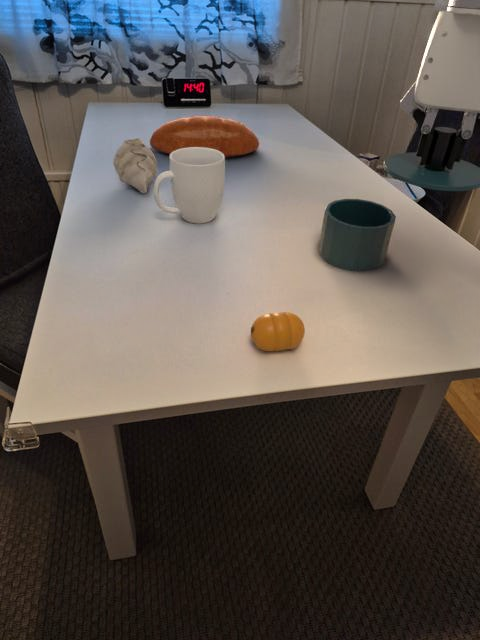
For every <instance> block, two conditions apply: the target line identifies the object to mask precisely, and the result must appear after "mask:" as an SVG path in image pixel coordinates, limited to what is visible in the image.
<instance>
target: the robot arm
mask: <svg viewBox="0 0 480 640" xmlns="http://www.w3.org/2000/svg"><path fill="white" fill-rule="evenodd" d="M398 105H399V108H400V109H402V111H404V112H406V114H408V115H409V116H411V117H412V118H413V119H414V121H415V122H416V124H417V126H418V127H419V129H420V131H421V135H420V139H419V142H418V146H417V150H416V152H415V153H416V156H418V157H420V164H419V165H422V166H423V165H425V163H426V160H427V157H428V153H429V150H430V146H431V143H432V139H433V133H434V129H435V127H434V123H435V120H436V118H437V115H438V112H439V110H447V111H455V112H464V114H463V118H462V122H461V127H460V128H459V129H458V130H457V134H456V137H455V140H454V143H453V146H452V149H451V152H450V156H449V159H448V162H447V165H446V168H448V169H450V170H452V168H453V165H454V162H460V160H462V156H463V153H464V150H465V147H466V144H467V141H468V139H470V138H471V137H472V136H473V135H475V134H476V133H478V132H479V131H480V115H478V114H480V0H448V4H447V8H446V10H439V12H438V15H437V16H436V19H435V20H434V24H433V25H432V29H431V32H430V34H429V37H428V41H427V44H426V47H425V50H424V53H423V56H422V60H421V63H420V67H419V70H418V74H417V76H416V79H415V82H413V84H412V85H411V86H410V88H409V89H408V90H407V92H406V93H405V94H404V96H403V97H402V98H401V99H400V101H399V104H398ZM422 107H425V108H426V112H425V110H424V109H423V108H422Z"/></svg>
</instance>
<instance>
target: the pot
mask: <svg viewBox="0 0 480 640" xmlns="http://www.w3.org/2000/svg"><path fill="white" fill-rule="evenodd" d="M396 219H397V217H396V214H395V213H394V212H393V210H392V209H390V208H388V207H386V206H385V205H383V204H381V203H378V202H375V201H372V200H367V199H361V198H342V199H336V200H333V201H331V202H330V203H327V205H326V207H325V209H324V213H323V220H322V226H321V232H320V238H319V242H318V243H319V244H318V253H319V256H320V258H322V260H323V261H325V262H326V263H327V264H329V265H331V266H333V267H336V268H339V269H342V270H346V271H352V272H368V271H372V270H376V269H378V268H380V267H381V266H382V265H383V264H384V262H385V260H386V256H387V252H388V248H389V245H390V241H391V237H392V235H393V230H394V227H395V224H396Z"/></svg>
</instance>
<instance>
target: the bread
mask: <svg viewBox="0 0 480 640" xmlns="http://www.w3.org/2000/svg"><path fill="white" fill-rule="evenodd" d="M149 145H150V146H151V148H152V149H155V150H157V151H159V152H162V153H165V154H168V155H170V154H171V153H172V152H173V151H175V150H178V149H182V148H188V147H205V148H211V149H215V150H218V151H220V152H221V153H223V154H224V156H225V158H231V157H232V158H233V157H238V156H243V155H247V154H249V153H252V152H254V151H256V150H257V149H258V148H259V146H260V141H259V138H258V137H257V135H256V134H255V133H254V132H253V131H252V130H251V129H250V128H249V127H248V126H246V125H245V124H244V123H242V122H240V121H236V120H234V119H230V118H223V117H219V116H213V115H212V116H210V115H207V116H206V115H205V116H203V115H194V116H189V117H181V118H177V119H174V120H170V121H167V122H165V123H163V124H162V125H161V126H158V128H157V129H155V131H153V133H152V135H151V137H150V139H149Z"/></svg>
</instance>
